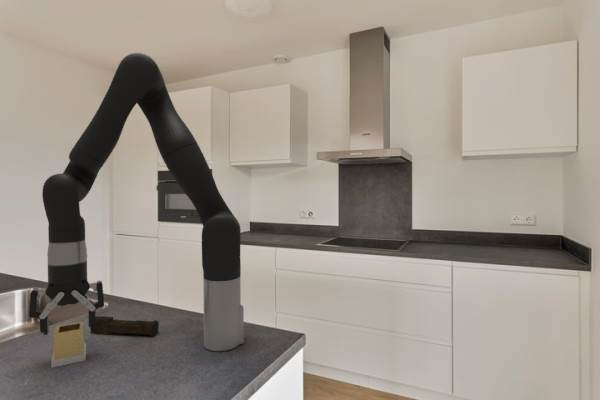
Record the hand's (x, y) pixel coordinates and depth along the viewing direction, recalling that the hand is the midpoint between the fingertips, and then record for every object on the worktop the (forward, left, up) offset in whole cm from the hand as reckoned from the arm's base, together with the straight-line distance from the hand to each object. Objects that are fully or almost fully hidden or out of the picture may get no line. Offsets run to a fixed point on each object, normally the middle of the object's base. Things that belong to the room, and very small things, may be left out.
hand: (69, 329), depth 79 cm
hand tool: (-12, -8, -7) cm, 16 cm away
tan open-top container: (0, 0, -5) cm, 5 cm away
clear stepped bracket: (0, -5, -7) cm, 9 cm away
